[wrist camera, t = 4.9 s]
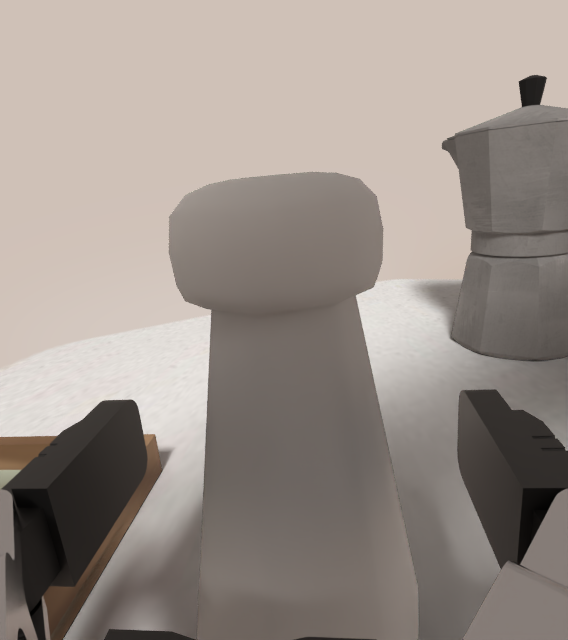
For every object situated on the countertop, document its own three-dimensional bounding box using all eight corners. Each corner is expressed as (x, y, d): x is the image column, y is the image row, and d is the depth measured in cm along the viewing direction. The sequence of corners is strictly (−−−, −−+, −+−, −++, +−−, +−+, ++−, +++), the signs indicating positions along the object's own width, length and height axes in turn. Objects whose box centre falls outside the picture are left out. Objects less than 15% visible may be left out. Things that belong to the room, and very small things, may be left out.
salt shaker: (184, 790, 10) (47, 193, 6) (226, 577, 16) (166, 187, 12) (450, 791, 10) (469, 155, 6) (398, 572, 15) (391, 166, 11)
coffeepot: (405, 335, 37) (403, 94, 32) (473, 309, 42) (481, 97, 37) (625, 396, 25) (681, 22, 20) (684, 350, 30) (741, 42, 25)
